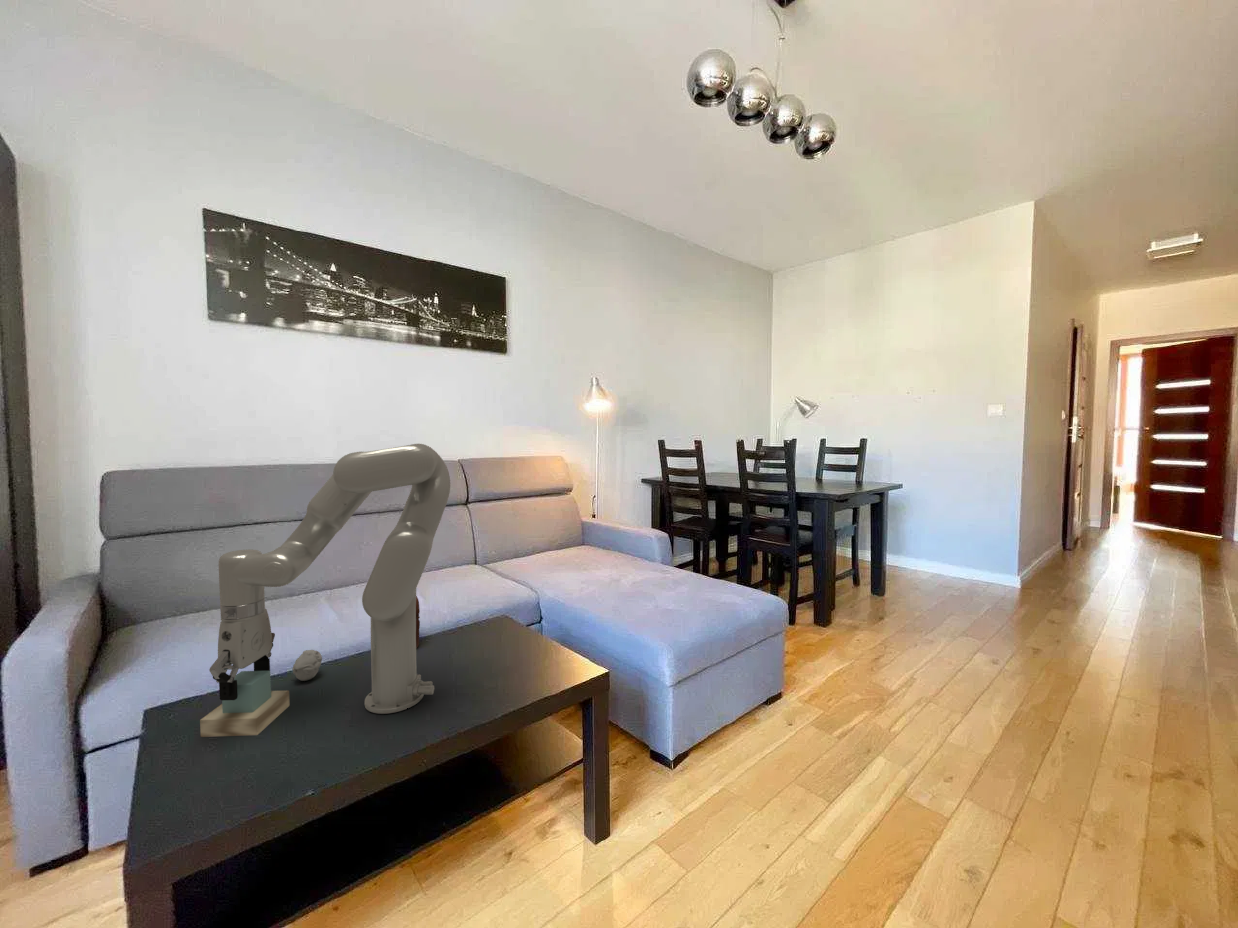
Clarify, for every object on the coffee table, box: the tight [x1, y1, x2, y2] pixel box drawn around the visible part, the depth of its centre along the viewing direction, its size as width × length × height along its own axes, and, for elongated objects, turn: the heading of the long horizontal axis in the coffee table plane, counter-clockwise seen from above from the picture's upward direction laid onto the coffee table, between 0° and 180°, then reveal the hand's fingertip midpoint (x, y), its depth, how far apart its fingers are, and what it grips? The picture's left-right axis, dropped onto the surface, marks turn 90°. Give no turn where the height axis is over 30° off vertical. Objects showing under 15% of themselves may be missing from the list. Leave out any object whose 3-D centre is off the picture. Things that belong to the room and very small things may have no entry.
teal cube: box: [221, 670, 272, 713], centre depth 105 cm, size 6×6×6 cm
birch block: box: [199, 690, 290, 738], centre depth 106 cm, size 11×11×4 cm
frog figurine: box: [291, 649, 323, 682], centre depth 124 cm, size 6×7×7 cm
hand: (246, 687), depth 106 cm, fingers open, 9 cm apart
